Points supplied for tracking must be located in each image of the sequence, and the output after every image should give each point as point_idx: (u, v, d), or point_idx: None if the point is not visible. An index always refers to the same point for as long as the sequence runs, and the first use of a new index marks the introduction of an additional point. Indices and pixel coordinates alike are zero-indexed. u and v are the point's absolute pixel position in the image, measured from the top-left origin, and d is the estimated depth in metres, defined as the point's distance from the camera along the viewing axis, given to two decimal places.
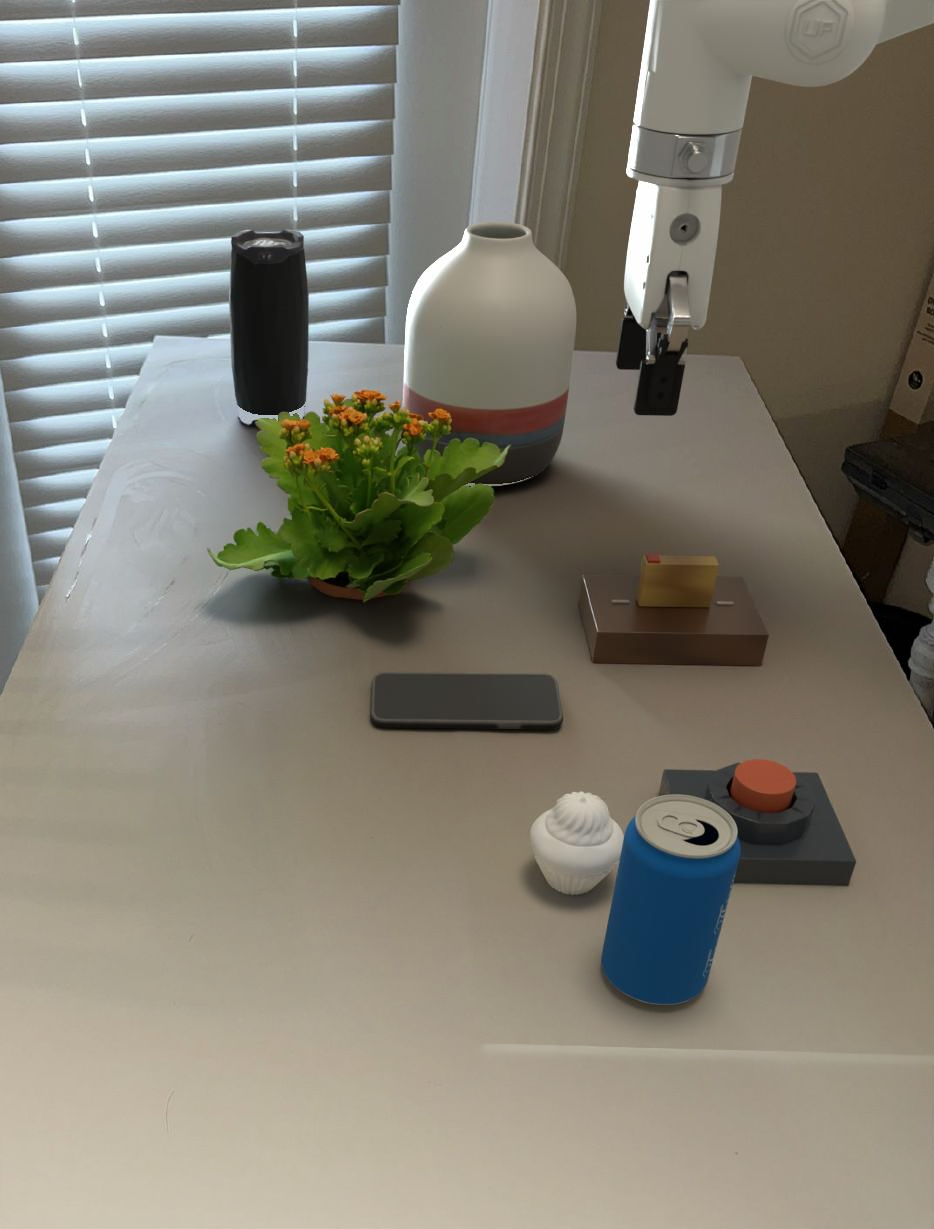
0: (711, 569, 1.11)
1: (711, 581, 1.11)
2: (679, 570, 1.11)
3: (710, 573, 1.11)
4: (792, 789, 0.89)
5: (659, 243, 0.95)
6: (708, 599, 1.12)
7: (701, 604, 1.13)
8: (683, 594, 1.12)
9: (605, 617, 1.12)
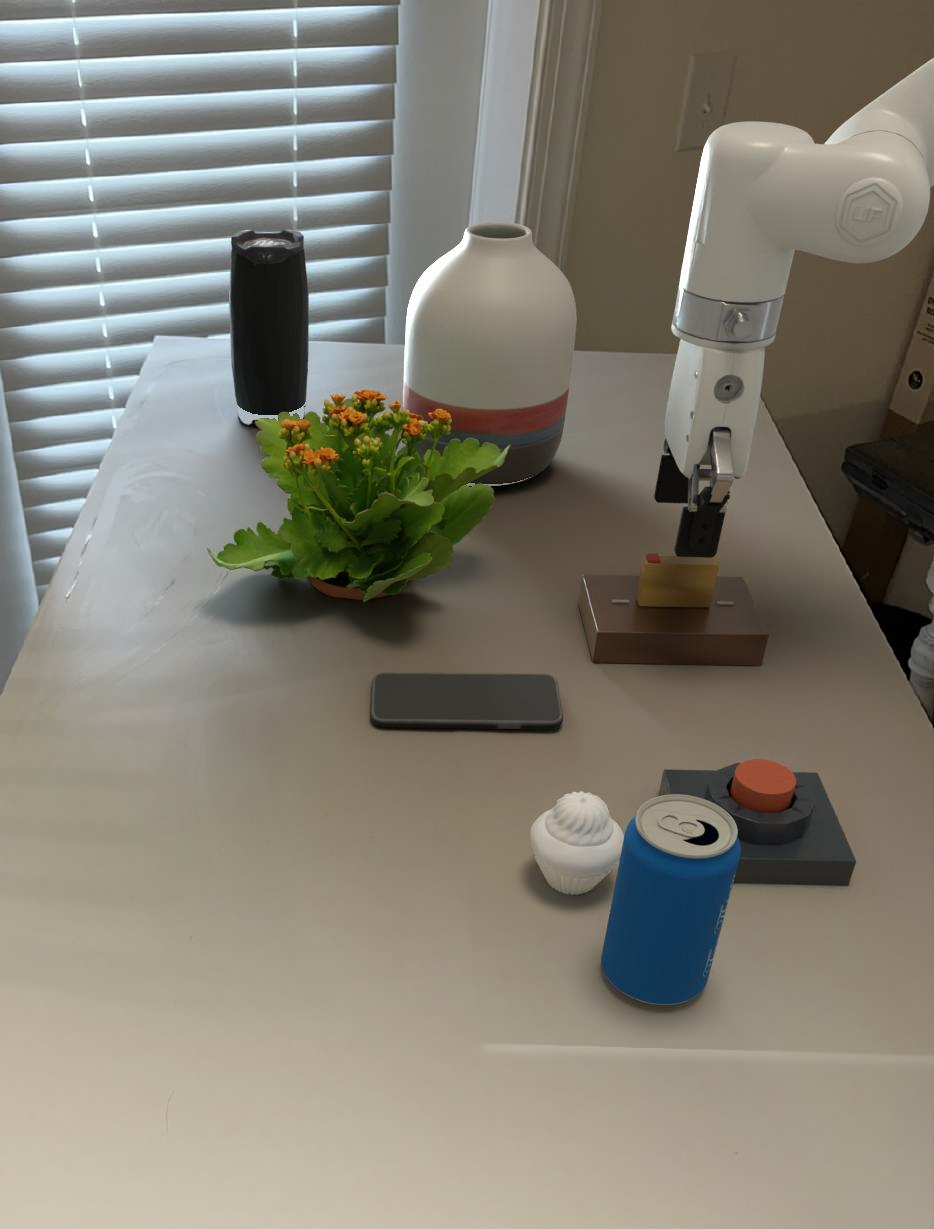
0: (711, 569, 1.11)
1: (711, 581, 1.11)
2: (679, 570, 1.11)
3: (710, 573, 1.11)
4: (792, 789, 0.89)
5: (704, 401, 0.98)
6: (708, 599, 1.12)
7: (701, 604, 1.13)
8: (683, 594, 1.12)
9: (605, 617, 1.12)
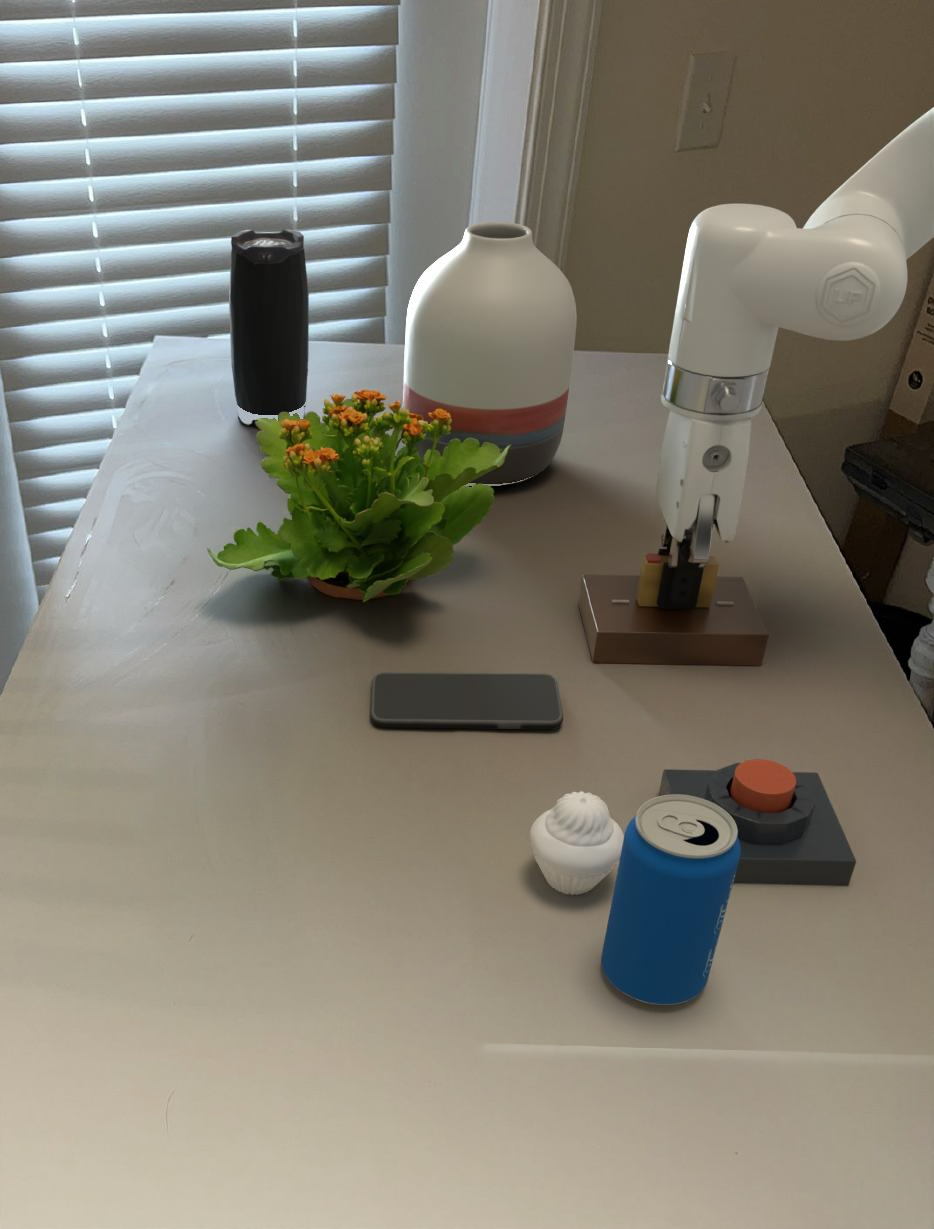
0: (711, 569, 1.11)
1: (711, 581, 1.11)
2: None
3: (710, 573, 1.11)
4: (792, 789, 0.89)
5: (693, 470, 1.01)
6: (708, 599, 1.12)
7: (701, 604, 1.13)
8: None
9: (605, 617, 1.12)
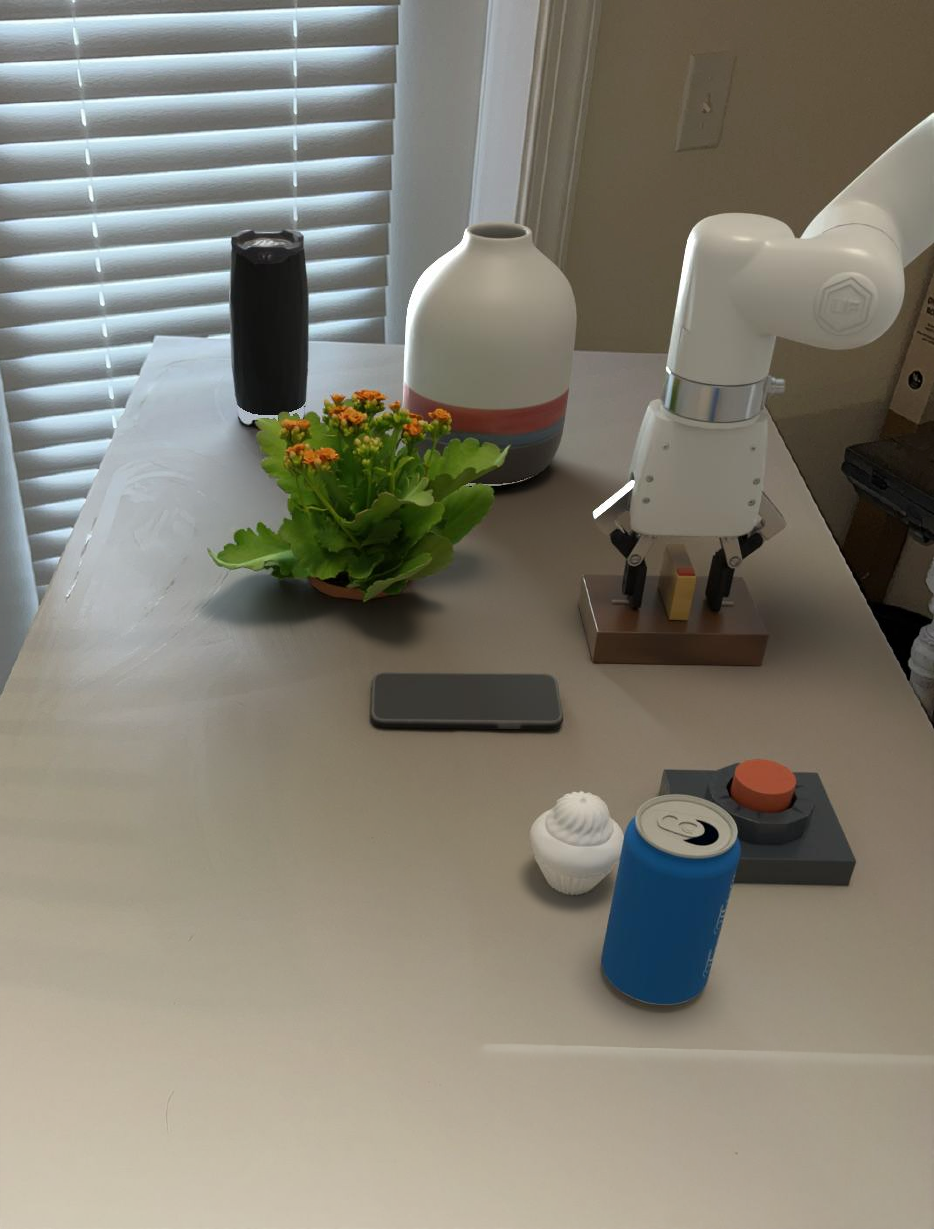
0: None
1: None
2: None
3: None
4: (792, 789, 0.89)
5: (765, 462, 1.04)
6: None
7: None
8: None
9: (605, 617, 1.12)
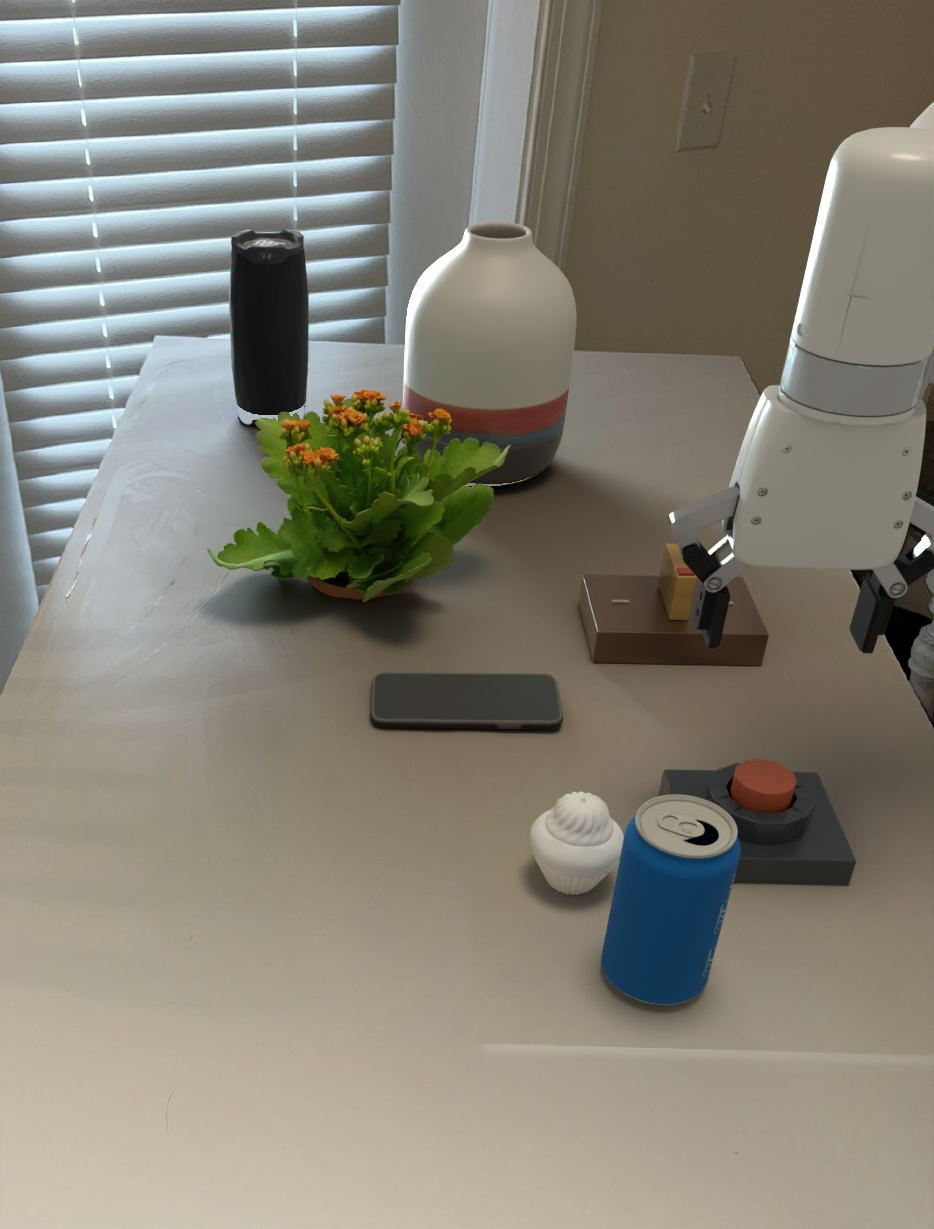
0: None
1: None
2: None
3: None
4: (792, 789, 0.89)
5: None
6: None
7: None
8: None
9: (605, 617, 1.12)
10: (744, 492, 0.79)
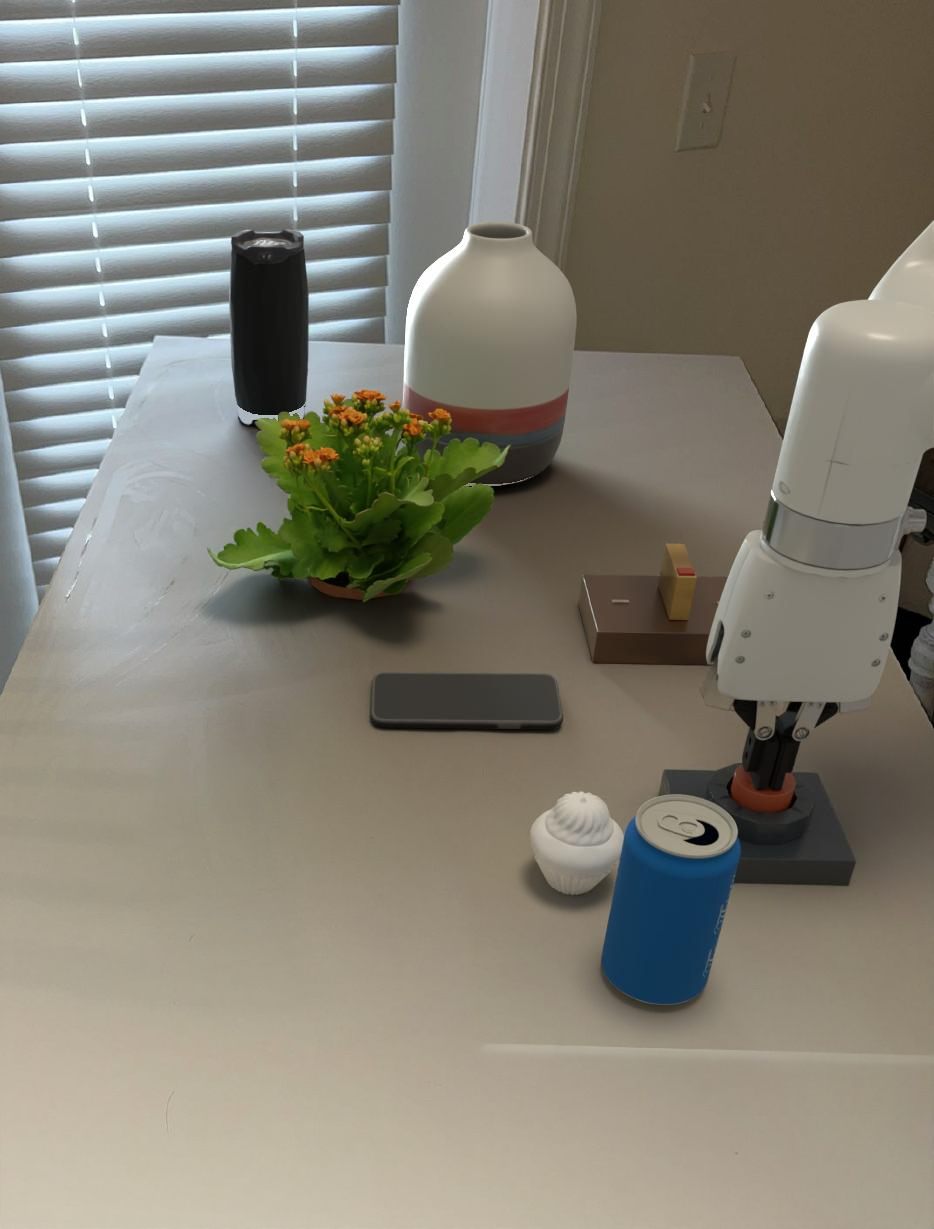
0: None
1: None
2: None
3: None
4: (791, 791, 0.89)
5: None
6: None
7: None
8: None
9: (605, 617, 1.12)
10: (728, 632, 0.82)
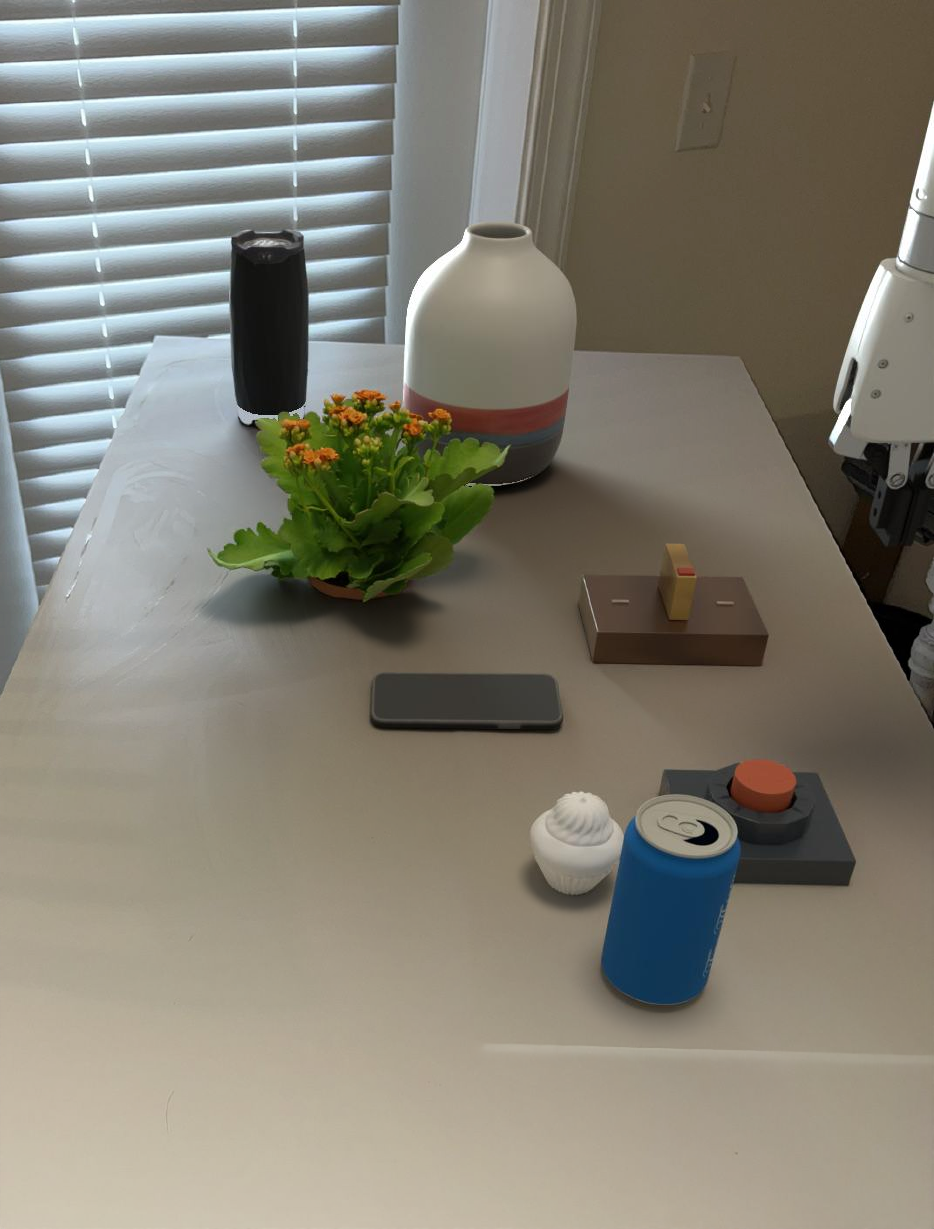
0: None
1: None
2: None
3: None
4: (792, 789, 0.89)
5: None
6: None
7: None
8: None
9: (605, 617, 1.12)
10: (863, 366, 0.80)
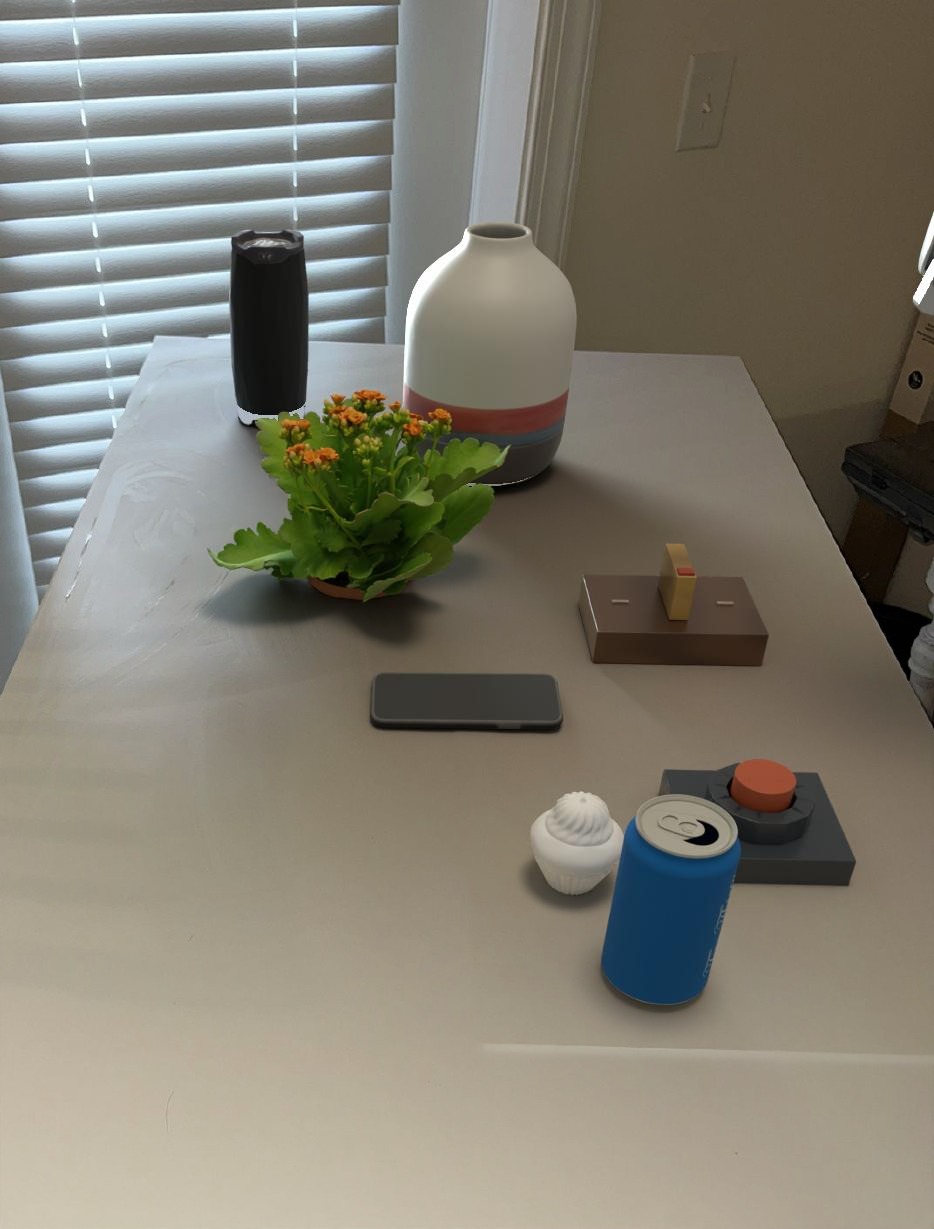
0: None
1: None
2: None
3: None
4: (792, 789, 0.89)
5: None
6: None
7: None
8: None
9: (605, 617, 1.12)
10: None
